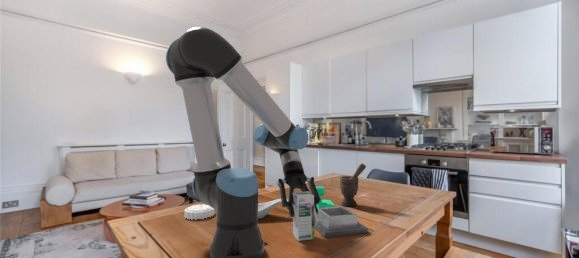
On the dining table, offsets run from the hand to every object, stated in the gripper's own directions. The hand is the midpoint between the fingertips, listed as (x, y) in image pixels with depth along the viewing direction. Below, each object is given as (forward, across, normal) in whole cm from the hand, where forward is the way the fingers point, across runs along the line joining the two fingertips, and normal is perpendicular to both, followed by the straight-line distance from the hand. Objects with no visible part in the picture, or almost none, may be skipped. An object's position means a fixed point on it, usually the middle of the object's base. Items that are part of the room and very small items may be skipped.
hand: (307, 224), depth 81 cm
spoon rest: (-15, +6, -24) cm, 29 cm away
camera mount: (-17, -20, -26) cm, 37 cm away
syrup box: (+1, 0, -6) cm, 7 cm away
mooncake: (-22, +34, -30) cm, 51 cm away
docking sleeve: (-3, -15, -10) cm, 18 cm away
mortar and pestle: (-19, -35, -27) cm, 48 cm away
